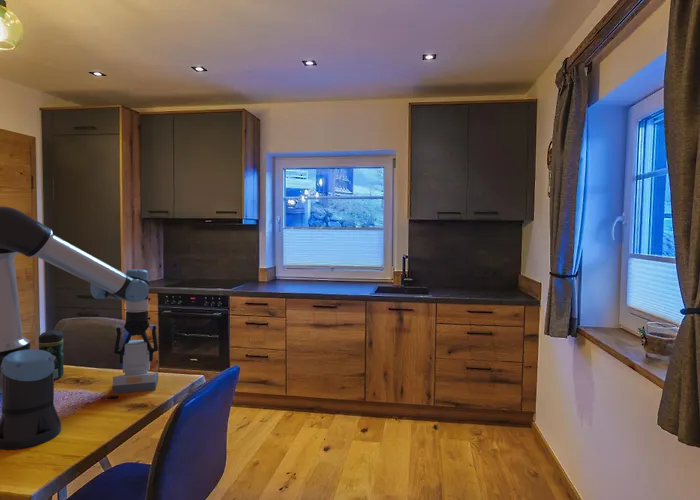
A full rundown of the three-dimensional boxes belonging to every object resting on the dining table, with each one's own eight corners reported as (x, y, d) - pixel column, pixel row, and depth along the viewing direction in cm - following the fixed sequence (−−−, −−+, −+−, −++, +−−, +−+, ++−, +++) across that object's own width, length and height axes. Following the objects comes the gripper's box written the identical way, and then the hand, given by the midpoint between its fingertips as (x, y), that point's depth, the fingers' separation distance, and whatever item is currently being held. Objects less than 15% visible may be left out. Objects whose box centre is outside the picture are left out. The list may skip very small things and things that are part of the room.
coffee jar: (41, 375, 169) (41, 329, 169) (64, 372, 173) (64, 327, 173) (36, 382, 161) (36, 334, 160) (61, 380, 165) (61, 332, 164)
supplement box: (148, 371, 164) (148, 338, 164) (146, 377, 157) (146, 343, 157) (126, 372, 161) (127, 340, 161) (124, 379, 154) (124, 344, 154)
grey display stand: (155, 390, 156) (155, 374, 156) (112, 394, 151) (112, 377, 151) (158, 379, 167) (158, 364, 167) (118, 383, 163) (118, 367, 162)
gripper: (167, 307, 165) (166, 365, 166) (108, 309, 159) (108, 370, 159) (165, 311, 158) (164, 371, 159) (104, 313, 152) (103, 376, 152)
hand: (136, 370), depth 159 cm, fingers closed on supplement box, 7 cm apart
